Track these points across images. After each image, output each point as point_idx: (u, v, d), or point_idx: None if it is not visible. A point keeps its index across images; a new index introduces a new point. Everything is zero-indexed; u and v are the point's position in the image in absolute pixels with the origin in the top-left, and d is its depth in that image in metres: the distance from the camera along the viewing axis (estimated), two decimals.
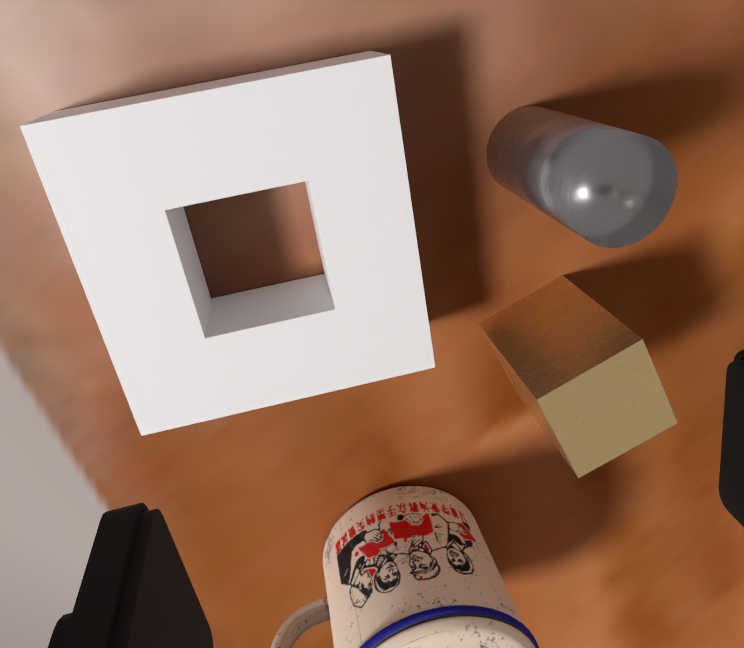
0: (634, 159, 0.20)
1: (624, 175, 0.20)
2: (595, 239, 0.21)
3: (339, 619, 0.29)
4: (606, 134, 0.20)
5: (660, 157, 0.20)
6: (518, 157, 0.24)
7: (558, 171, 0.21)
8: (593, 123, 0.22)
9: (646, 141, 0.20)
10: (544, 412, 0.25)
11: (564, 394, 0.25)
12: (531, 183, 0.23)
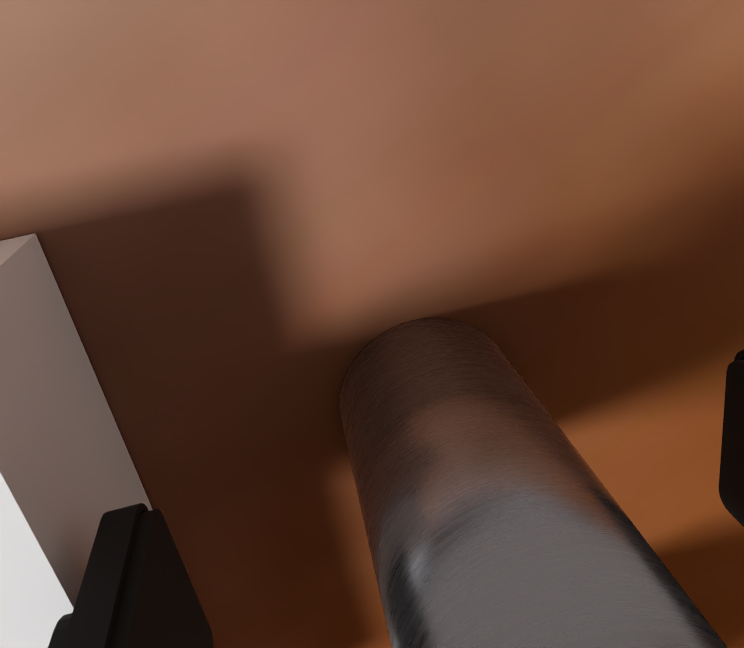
0: None
1: None
2: None
3: None
4: None
5: None
6: (367, 504, 0.10)
7: None
8: (536, 506, 0.08)
9: None
10: None
11: None
12: (383, 609, 0.09)
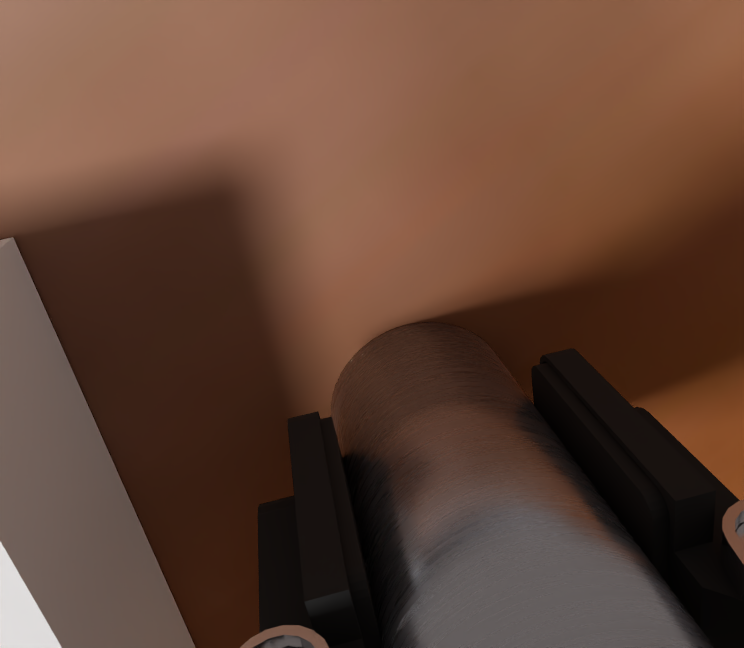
0: None
1: None
2: None
3: None
4: None
5: None
6: (358, 518, 0.10)
7: None
8: (533, 525, 0.07)
9: None
10: None
11: None
12: None
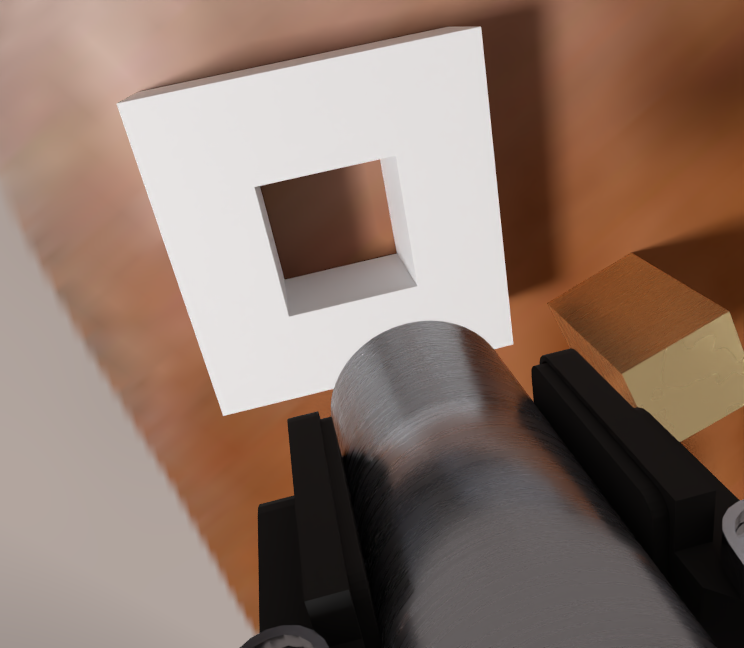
0: None
1: None
2: None
3: None
4: None
5: None
6: (358, 517, 0.10)
7: None
8: (534, 523, 0.07)
9: None
10: (628, 386, 0.25)
11: (649, 368, 0.25)
12: None
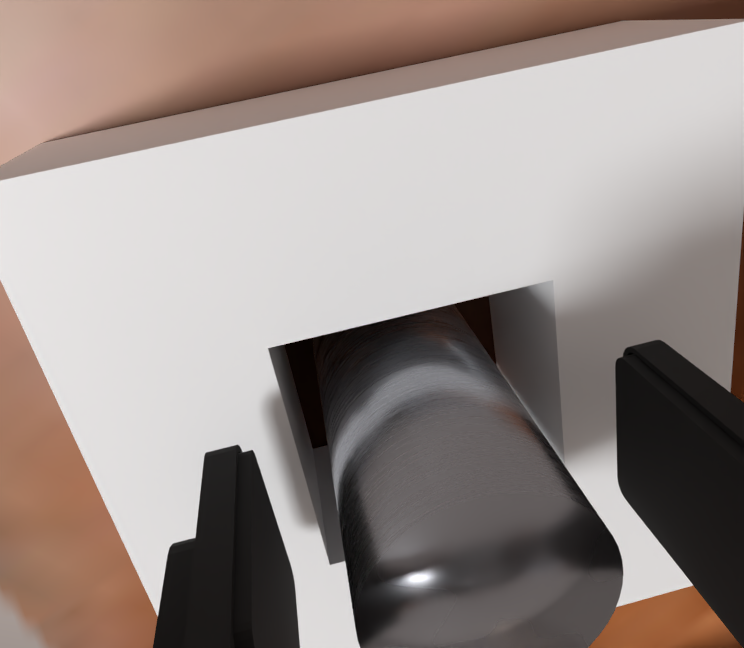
0: (512, 543, 0.08)
1: (491, 573, 0.08)
2: None
3: None
4: (444, 471, 0.08)
5: (577, 533, 0.08)
6: (326, 411, 0.12)
7: (349, 529, 0.09)
8: (445, 392, 0.10)
9: (538, 505, 0.08)
10: None
11: None
12: None
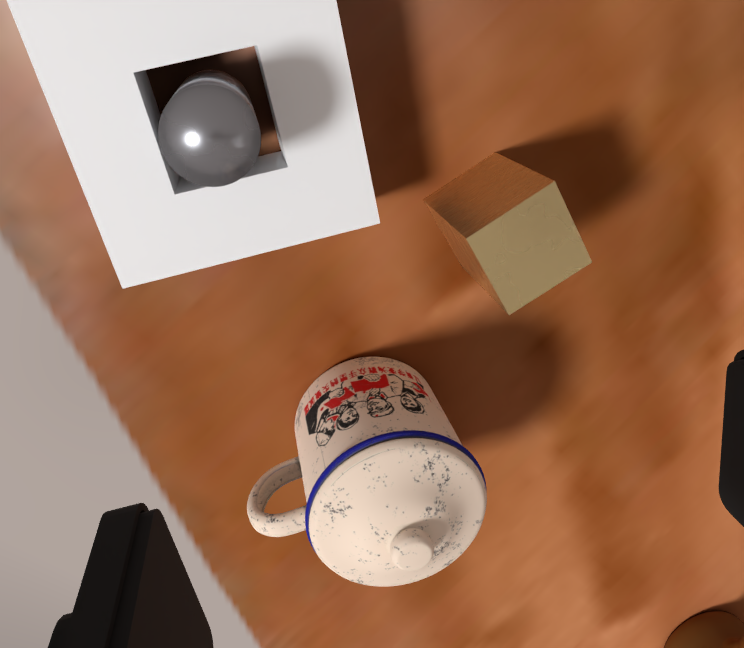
0: (212, 107, 0.23)
1: (206, 121, 0.23)
2: (195, 179, 0.24)
3: (307, 461, 0.33)
4: (189, 85, 0.23)
5: (236, 104, 0.23)
6: None
7: None
8: (203, 79, 0.25)
9: (218, 90, 0.23)
10: (473, 251, 0.29)
11: (489, 233, 0.28)
12: None
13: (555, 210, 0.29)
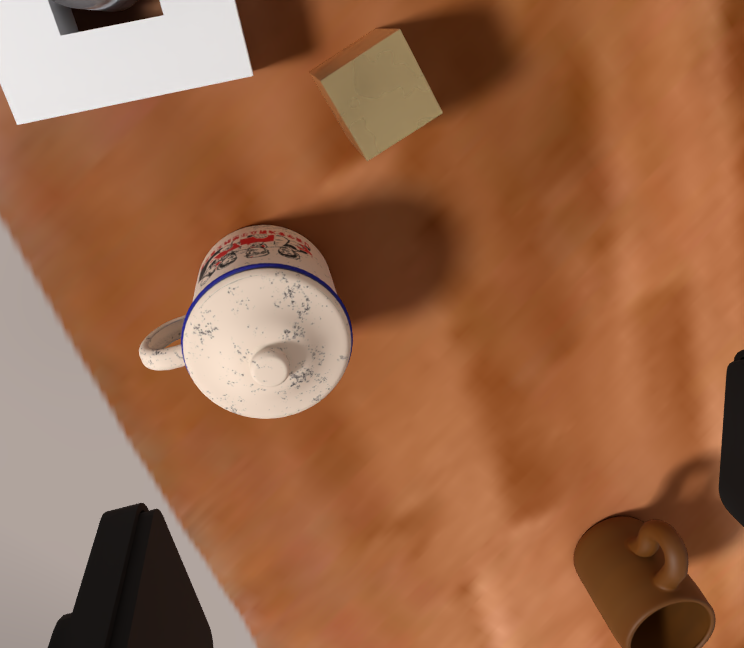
0: None
1: None
2: (59, 0, 0.27)
3: None
4: None
5: None
6: None
7: None
8: None
9: None
10: (329, 94, 0.32)
11: (342, 77, 0.32)
12: None
13: (403, 58, 0.32)
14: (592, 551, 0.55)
